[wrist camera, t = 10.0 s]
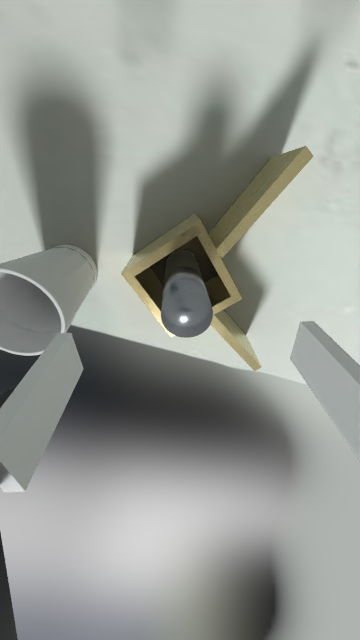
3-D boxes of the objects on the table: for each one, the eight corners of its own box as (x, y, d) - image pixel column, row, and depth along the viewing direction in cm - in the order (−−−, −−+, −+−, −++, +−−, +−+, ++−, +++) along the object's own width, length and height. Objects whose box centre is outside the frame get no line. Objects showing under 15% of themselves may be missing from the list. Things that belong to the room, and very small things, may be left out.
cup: (113, 292, 30) (80, 347, 20) (57, 304, 31) (-3, 362, 20) (89, 230, 26) (33, 257, 16) (25, 244, 27) (-68, 279, 16)
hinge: (131, 253, 28) (118, 271, 22) (274, 155, 23) (310, 142, 17) (205, 355, 36) (212, 389, 30) (322, 298, 31) (358, 325, 25)
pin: (159, 261, 28) (150, 308, 17) (187, 243, 27) (196, 281, 16) (177, 286, 30) (178, 345, 19) (203, 270, 29) (222, 322, 18)
